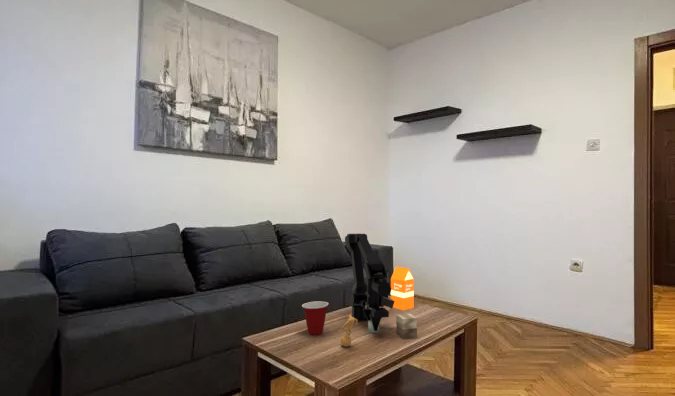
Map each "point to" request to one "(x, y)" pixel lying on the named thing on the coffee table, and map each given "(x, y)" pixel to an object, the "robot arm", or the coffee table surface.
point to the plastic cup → (315, 316)
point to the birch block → (406, 321)
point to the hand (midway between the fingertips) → (373, 328)
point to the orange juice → (402, 288)
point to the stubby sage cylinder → (370, 327)
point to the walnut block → (406, 333)
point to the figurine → (346, 339)
